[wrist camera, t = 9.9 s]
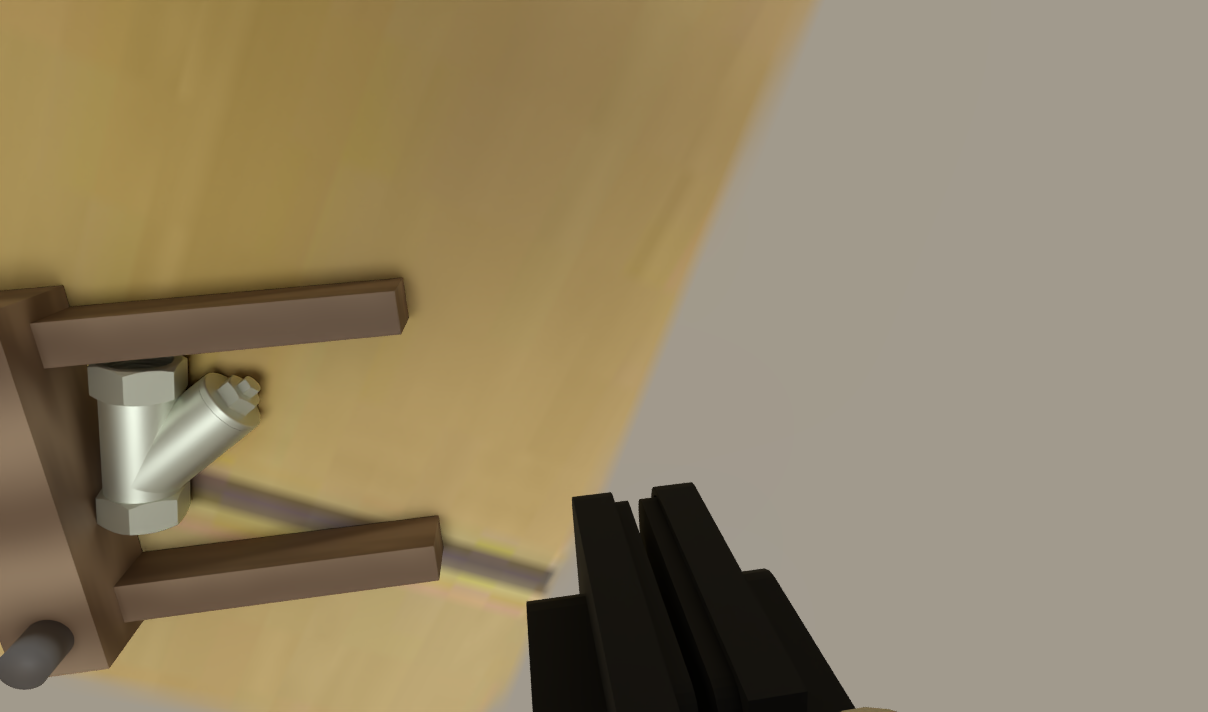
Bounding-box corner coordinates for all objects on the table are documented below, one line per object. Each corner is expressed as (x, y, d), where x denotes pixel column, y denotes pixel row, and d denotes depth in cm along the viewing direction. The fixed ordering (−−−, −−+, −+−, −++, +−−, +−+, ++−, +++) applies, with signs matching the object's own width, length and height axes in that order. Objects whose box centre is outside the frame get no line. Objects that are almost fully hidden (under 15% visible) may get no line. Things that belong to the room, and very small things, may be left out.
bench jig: (-33, 293, 33) (-168, 335, 26) (399, 256, 35) (376, 288, 28) (75, 612, 38) (-14, 715, 31) (445, 563, 40) (435, 650, 33)
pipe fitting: (269, 354, 36) (114, 343, 34) (250, 381, 32) (76, 371, 31) (267, 498, 38) (122, 495, 37) (249, 539, 35) (87, 537, 33)
